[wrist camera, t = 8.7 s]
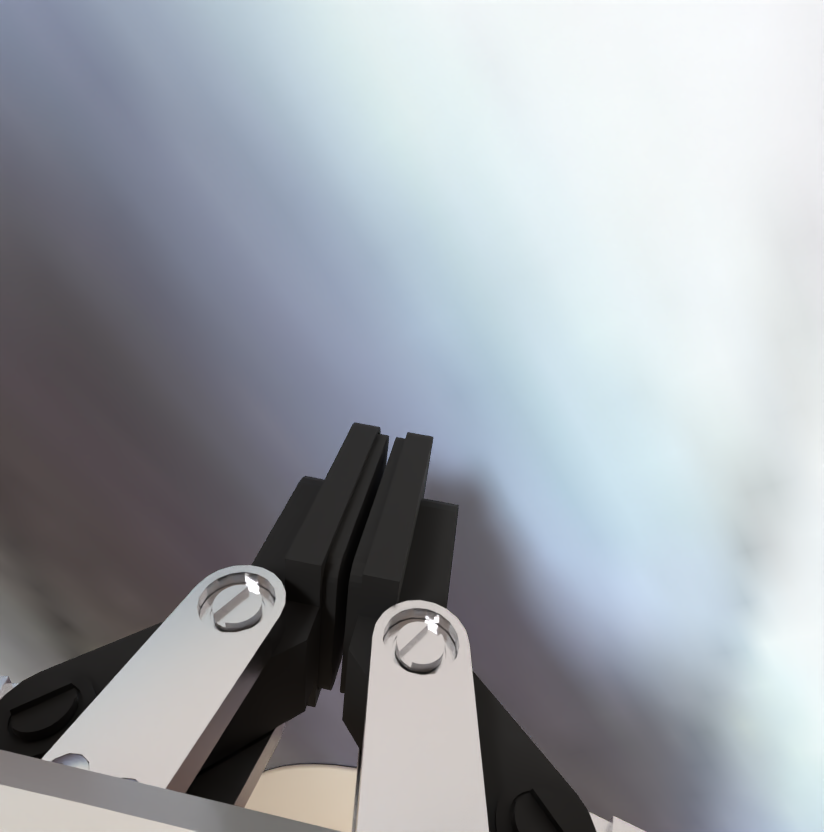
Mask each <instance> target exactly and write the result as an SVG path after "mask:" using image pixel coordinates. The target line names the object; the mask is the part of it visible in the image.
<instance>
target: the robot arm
mask: <svg viewBox="0 0 824 832" xmlns="http://www.w3.org/2000/svg"><path fill="white" fill-rule="evenodd" d="M388 443H389V436H388V435H382V434H380V427H376V426H371V425H365V424H360V423H354V424H353V425H352V427H351V429H350V431H349V433H348V435H347V437H346V439H345V441H344V443H343V445H342V447H341V449H340V451H339V453H338V455H337V457H336V458H335V460H334V462H333V464H332V466H331V468H330V470H329V472H328V474H327V476H326V478H325V480H323V479H318V478H313V477H308V476H305V477H303V478H302V479H301V480H300V482H299V484H298V485H297V487H296V489H295V491H294V492H293V494H292V496H291V497H290V499H289V501H288V503H287V504H286V506H285V508H284V510H283V511H282V513H281V515H280V517H279V518H278V520H277V522H276V524H275V525H274V527H273V529H272V531H271V532H270V534H269V536H268V537H267V539H266V541H265V543H264V544H263V546H262V548H261V550H260V551H259V553H258V555H257V557H256V558H255V560H254V562H253V564H252V565H237V566H232V567H228V568H224V569H220V570H218V571H216V572H214V573H213V574H211V575H209V576H207V577H206V578H205V579H203V580H202V581H201V582H200V583H199V584H198V585H196V586H195V588H194V589H193V590H192V591H191V592H190V593H189V594H188V595H187V597H186V598H185V599H184V600H183V601H182V602H181V603H180V604H179V605H178V607H177V608H176V609H175V610H174V611H173V612H172V613H171V614H170V616H169V617H168V618H167V619H166V620H165V621H164V622H162V623H160V624H157V625H155V626H152V627H150V628H147V629H145V630H142V631H140V632H137V633H135V634H132V635H130V636H128V637H125V638H123V639H120V640H118V641H115V642H113V643H110V644H108V645H105V646H103V647H100V648H98V649H96V650H93V651H91V652H88V653H86V654H83V655H81V656H78V657H76V658H73V659H71V660H68V661H66V662H63V663H61V664H59V665H56V666H54V667H51V668H49V669H46V670H44V671H41V672H39V673H37V674H35V675H34V676H32V677H30V678H28V679H26V680H24V681H22V682H21V683H11V681H10V679H9V676H0V832H341V831H337V830H333V829H329V828H325V827H321V826H317V825H313V824H309V823H304V822H300V821H296V820H292V819H288V818H284V817H280V816H276V815H271V814H267V813H263V812H259V811H255V810H251V809H247V808H244V807H245V805H246V803H247V802H248V800H249V798H250V796H251V794H252V792H253V790H254V788H255V786H256V784H257V783H258V781H259V779H260V777H261V775H262V773H263V771H264V769H265V767H266V765H267V763H268V762H269V760H270V758H271V756H272V754H273V752H274V750H275V748H276V746H277V744H278V743H279V741H280V739H281V737H282V734H283V731H284V728H285V725H286V722H287V721H289V720H290V719H292V718H294V717H295V716H297V715H299V714H301V713H302V712H304V711H305V709H306V706H307V705H308V706H312V707H315V706H316V703H317V700H318V697H319V694H320V691H321V688H323V689H328V690H331V689H332V687H333V685H334V682H335V679H336V675H337V672H338V669H339V665H340V662H341V659H342V656H343V661H342V673H341V686H340V692H341V693H345V695H344V706H343V718H342V720H343V722H344V723H345V725H346V727H347V728H348V730H349V732H350V733H351V735H352V737H353V738H354V740H355V742H356V744H357V745H358V747H359V751H358V762H357V773H356V784H355V796H354V807H353V818H352V830H351V832H646V831H644V830H642V829H640V828H637V827H635V826H633V825H631V824H629V823H627V822H625V821H623V820H621V819H619V818H617V817H615V816H613V817H612V819H611V820H610V822H609V821H607V820H605V819H603V818H601V817H599V816H596V815H594V814H592V813H590V812H588V810H587V809H586V807H585V806H584V804H583V803H582V801H581V800H580V798H579V797H578V795H577V794H576V793H575V791H574V790H573V789H572V788H571V787H570V785H569V784H568V783H567V782H566V781H565V780H564V778H563V777H562V776H561V775H560V774H559V772H558V771H557V770H556V769H555V768H554V767H553V765H552V764H551V763H550V762H549V761H548V759H547V758H546V757H545V756H544V755H543V754H542V752H541V751H540V750H539V749H538V748H537V746H536V745H535V744H534V743H533V742H532V741H531V739H530V738H529V737H528V736H527V735H526V733H525V732H524V731H523V730H522V729H521V727H520V726H519V725H518V724H517V723H516V722H515V720H514V719H513V718H512V717H511V716H510V714H509V713H508V712H507V711H506V710H505V709H504V707H503V706H502V705H501V704H500V703H499V701H498V700H497V699H496V698H495V697H494V696H493V694H492V693H491V692H490V691H489V690H488V688H487V687H486V686H485V685H484V684H483V683H482V681H481V680H480V679H479V678H478V677H477V675H476V674H475V673H474V672H473V671H472V663H471V654H470V644H469V640H468V636H467V633H466V630H465V628H464V627H463V625H462V624H461V622H460V621H459V619H458V618H457V617H456V616H455V615H453V614H452V613H451V612H450V611H449V610H448V609H447V600H448V592H449V583H450V575H451V567H452V558H453V550H454V541H455V533H456V525H457V516H458V505H454V504H449V503H444V502H439V501H433V500H428V499H423V498H424V492H425V486H426V480H427V474H428V467H429V461H430V455H431V449H432V443H433V437H431V436H426V435H420V434H415V433H409V432H408V433H407V435H406V438H405V439H404V438H399V437H396V439H395V442H394V445H393V448H392V451H391V454H390V456H389V459H388V462H387V465H386V461H387V452H388Z"/></svg>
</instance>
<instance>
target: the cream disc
mask: <svg viewBox="0 0 824 832" xmlns="http://www.w3.org/2000/svg"><path fill="white" fill-rule="evenodd" d="M356 773H357V768H352V767H345V766H338V765H324V764H299V765H291V766H283V767H279V768H275V769H271V770H267V771H265V772H263V773H262V775H261V777H260V779H259V781H258V783H257V784H256V786H255V788H254V790H253V792H252V794H251V796H250V798H249V800H248V802H247V803H246V805H245V807H244V808H247V809H251V810H255V811H259V812H263V813H267V814H271V815H276V816H280V817H284V818H288V819H292V820H296V821H300V822H304V823H309V824H313V825H317V826H321V827H325V828H329V829H333V830H337V831H341V832H351V830H352V818H353V807H354V796H355V784H356Z"/></svg>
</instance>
